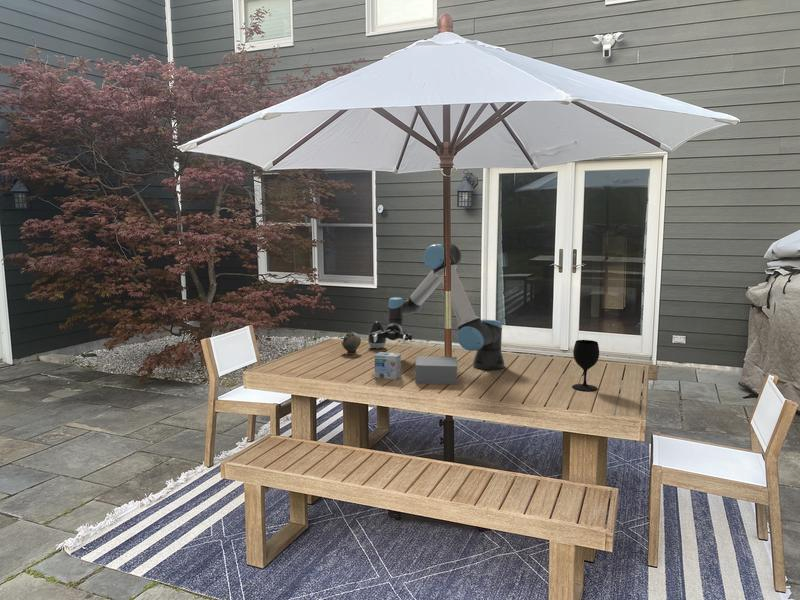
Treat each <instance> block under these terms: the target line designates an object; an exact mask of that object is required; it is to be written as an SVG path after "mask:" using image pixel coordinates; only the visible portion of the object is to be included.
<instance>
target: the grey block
mask: <svg viewBox="0 0 800 600" xmlns="http://www.w3.org/2000/svg"><path fill="white" fill-rule="evenodd" d="M414 367H415V369H414V370H415V371H414V376H415V377H414V378H415V379H414V383H415V384H426V385H427V384H429V385H457V384H458V359H457V357H456V356H426V355H424V356H422V355H421V356H419V355H418V356H417V358H416V361H415V366H414Z"/></svg>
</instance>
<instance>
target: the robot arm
mask: <svg viewBox="0 0 800 600" xmlns="http://www.w3.org/2000/svg"><path fill="white" fill-rule="evenodd" d="M444 244H445V243H435V244H431V245H430V246H428V247H427V248H426V249H425V251H424V255H423V262H424V264H425V266H426V267H427V268H428V269H429V270H430V272H429V273H428V274H427V276H426V277H425V278H424V279H423V280H422V282H421V283H419V285H418V286H417V287H416V289H414V291H413V292H412V293H411V295H410V296H409V297H408V298H407V299H405V300H404V299H403V298H402V297H390V298H389V299H388V306H387V307H388V321H387V323H388V324H387V325H388V326H387V327H386V328H385V330H384V332H382V331H381V330H379V331H377V332H373V333H370V339H372V338H373V340H374V342H376V341H377V339H378V338H386V339H388V340H390V341H396V340H399V339H401V340H402V344H405V343H406V342H407V341H408V340H409V341H412V339H413V335H412V334H411V333H409V332H407V331H403V330H404V324H403V322H404V315H413V314H417V313H419V312H420V311H421V310H422V306H423V304H424V302H425V301H426V300H427V299H428V298H429V297H430V295H431V294H432V293H433V292H434V291H435V290H436V288H438V286H439V285H440V284H441V285H442V287H443V288H444ZM449 244H450V259H451V304H450V306H451V308H452V310H453V312H454V315H455V317H456V319H457V323H458V324H457V330H458V332H457V342H458V343H459V345H460V346H461V348H462V349H464V350H466V351H469V352H473V351H475V352H476V353H475V356H474V358H473V361H472V362H473V363H472V366H473V367H474V368H476V369H481V370H487V371H490V370H491V371H492V370H493V371H494V370H502V369H504V368H505V360H504V357H503V356H504V355H503V354H502V337H503V335H502V334H503V333H502V332H503V325H502V322H501V321H500V320H495V319H486V318H485V319H484V318H481V317H479V316H477V315H476V313H475V311H474V309H473V307H472V304H471V302H470V300H469V297H468V296H467V293H466V290H465V289H464V286H463V284H462V282H461V280H460V277H459V275H458V271H456V270H457V268H458V266H459V265H460V263H461V261H462V256H463V254H462V251H461V250H460V248H459V247H458V246H457V245H456V244H453V243H449ZM445 276H446V249H445Z"/></svg>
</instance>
